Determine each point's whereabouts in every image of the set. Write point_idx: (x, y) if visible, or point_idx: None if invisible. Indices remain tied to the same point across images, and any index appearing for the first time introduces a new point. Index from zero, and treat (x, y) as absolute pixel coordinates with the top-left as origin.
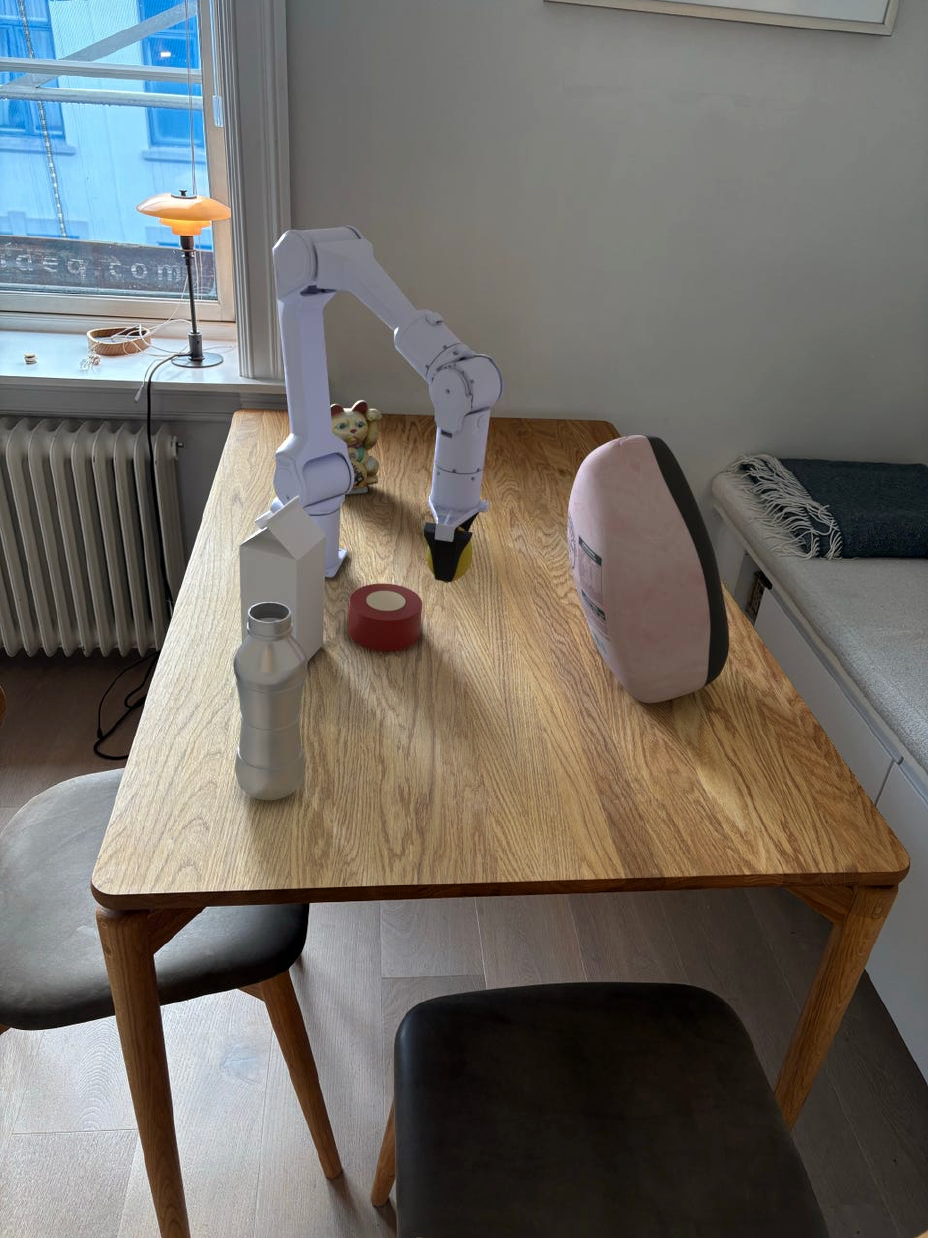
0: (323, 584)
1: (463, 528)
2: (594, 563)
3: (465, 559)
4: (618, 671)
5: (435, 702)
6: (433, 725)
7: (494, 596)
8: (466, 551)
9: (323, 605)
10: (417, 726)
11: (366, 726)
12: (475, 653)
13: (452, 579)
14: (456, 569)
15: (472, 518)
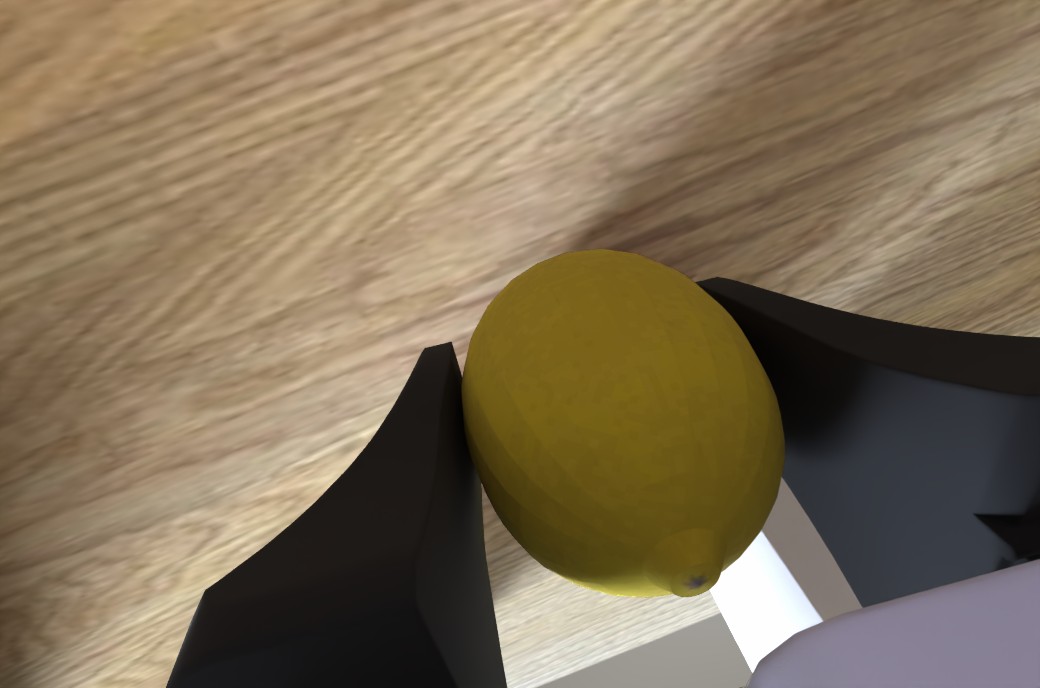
0: (812, 585)
1: (449, 485)
2: None
3: (697, 293)
4: None
5: (892, 85)
6: (1002, 46)
7: (132, 139)
8: (711, 324)
9: (766, 524)
10: (1005, 91)
11: (998, 214)
12: (589, 60)
13: (730, 280)
14: (771, 294)
15: (437, 526)
